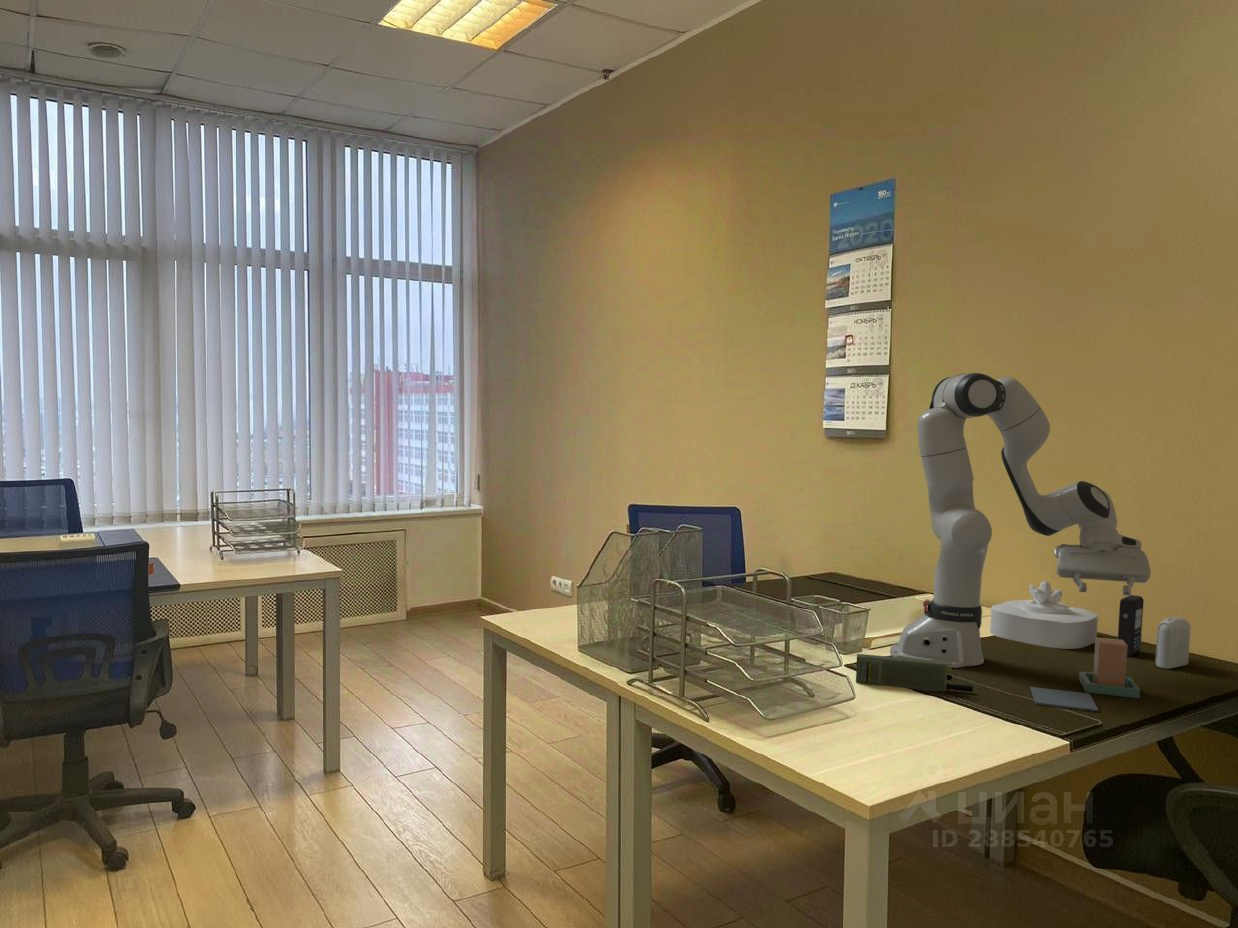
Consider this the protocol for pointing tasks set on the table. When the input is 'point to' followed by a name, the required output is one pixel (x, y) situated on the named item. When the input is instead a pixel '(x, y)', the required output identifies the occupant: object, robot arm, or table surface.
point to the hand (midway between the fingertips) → (1104, 592)
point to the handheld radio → (905, 673)
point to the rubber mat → (1063, 699)
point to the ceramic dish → (1109, 687)
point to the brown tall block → (1110, 661)
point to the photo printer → (1173, 643)
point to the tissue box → (1044, 621)
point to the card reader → (1131, 622)
